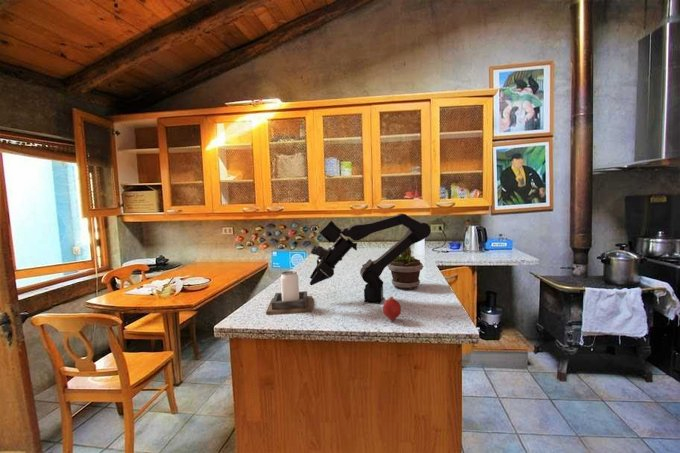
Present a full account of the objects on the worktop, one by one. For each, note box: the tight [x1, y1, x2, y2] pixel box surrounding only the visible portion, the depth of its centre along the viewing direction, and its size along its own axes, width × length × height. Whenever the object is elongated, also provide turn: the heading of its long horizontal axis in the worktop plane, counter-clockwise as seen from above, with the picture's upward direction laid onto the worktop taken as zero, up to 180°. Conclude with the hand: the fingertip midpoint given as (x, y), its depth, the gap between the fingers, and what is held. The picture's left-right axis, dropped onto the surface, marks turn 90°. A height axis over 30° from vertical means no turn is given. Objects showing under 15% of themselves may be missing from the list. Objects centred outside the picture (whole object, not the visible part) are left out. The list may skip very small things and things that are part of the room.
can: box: [280, 270, 300, 301], centre depth 124 cm, size 6×6×12 cm
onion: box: [382, 296, 402, 322], centre depth 106 cm, size 6×6×8 cm
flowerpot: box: [387, 246, 424, 291], centre depth 144 cm, size 14×15×20 cm
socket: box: [265, 290, 313, 315], centre depth 125 cm, size 16×16×4 cm
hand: (310, 281), depth 125 cm, fingers open, 9 cm apart
